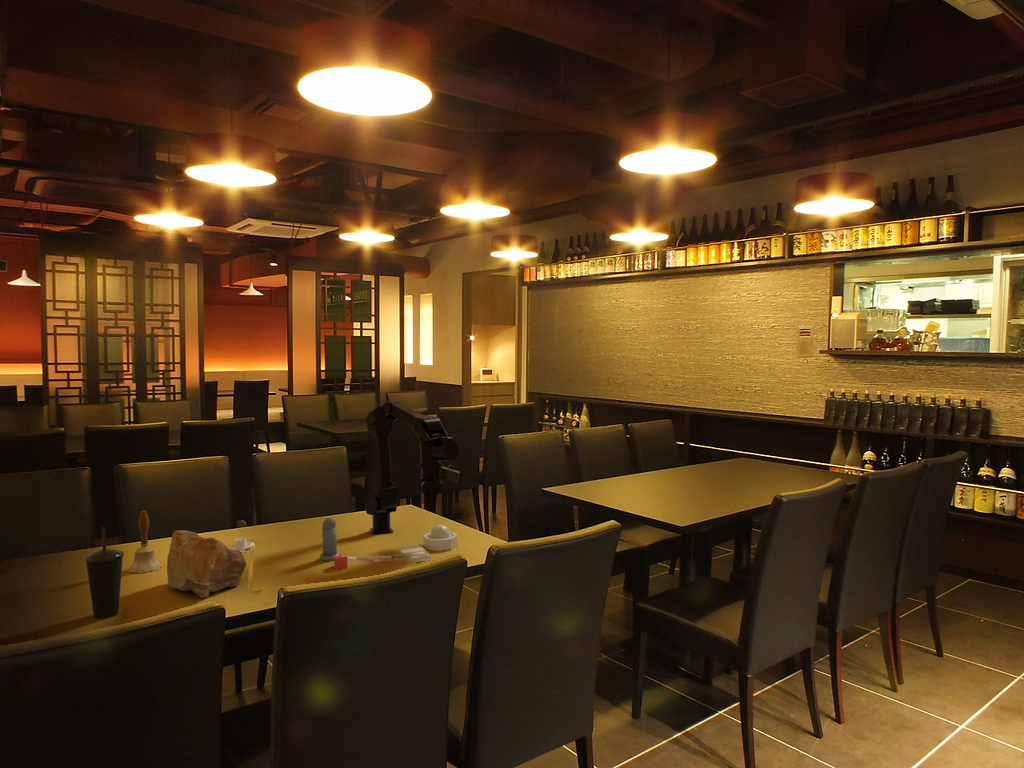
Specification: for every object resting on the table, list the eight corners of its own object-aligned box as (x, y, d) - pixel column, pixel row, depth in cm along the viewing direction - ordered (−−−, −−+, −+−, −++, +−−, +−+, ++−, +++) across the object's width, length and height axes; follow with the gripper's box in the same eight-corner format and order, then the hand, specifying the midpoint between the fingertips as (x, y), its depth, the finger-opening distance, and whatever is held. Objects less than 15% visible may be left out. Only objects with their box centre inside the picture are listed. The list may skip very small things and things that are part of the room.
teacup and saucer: (250, 546, 212) (250, 533, 212) (262, 552, 207) (261, 538, 207) (221, 552, 206) (221, 539, 206) (232, 558, 201) (232, 544, 200)
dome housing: (421, 543, 214) (421, 533, 214) (451, 540, 217) (451, 530, 217) (428, 551, 205) (428, 541, 205) (459, 548, 208) (459, 538, 208)
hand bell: (168, 565, 193) (167, 508, 192) (144, 575, 185) (142, 515, 184) (145, 562, 195) (143, 506, 195) (120, 571, 188) (118, 513, 187)
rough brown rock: (261, 595, 171) (264, 535, 172) (190, 607, 160) (194, 542, 161) (226, 576, 188) (228, 521, 189) (160, 585, 177) (163, 526, 178)
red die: (333, 566, 188) (333, 554, 188) (345, 565, 189) (345, 553, 189) (335, 569, 185) (334, 557, 185) (347, 568, 186) (347, 556, 186)
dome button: (426, 542, 213) (425, 523, 213) (448, 540, 216) (448, 521, 215) (431, 549, 206) (431, 529, 206) (455, 546, 209) (454, 527, 209)
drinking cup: (113, 621, 153) (110, 531, 152) (78, 621, 153) (75, 531, 152) (132, 608, 161) (130, 522, 160) (100, 608, 161) (97, 522, 160)
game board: (316, 558, 199) (316, 554, 199) (420, 547, 209) (420, 543, 209) (321, 575, 184) (321, 571, 184) (433, 563, 194) (433, 559, 194)
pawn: (319, 556, 196) (318, 516, 196) (338, 554, 198) (337, 515, 198) (321, 562, 192) (320, 521, 191) (340, 559, 193) (339, 519, 193)
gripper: (459, 461, 200) (462, 515, 200) (455, 454, 219) (457, 504, 219) (420, 463, 199) (423, 518, 199) (419, 456, 217) (422, 506, 217)
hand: (433, 511), depth 209 cm, fingers closed
